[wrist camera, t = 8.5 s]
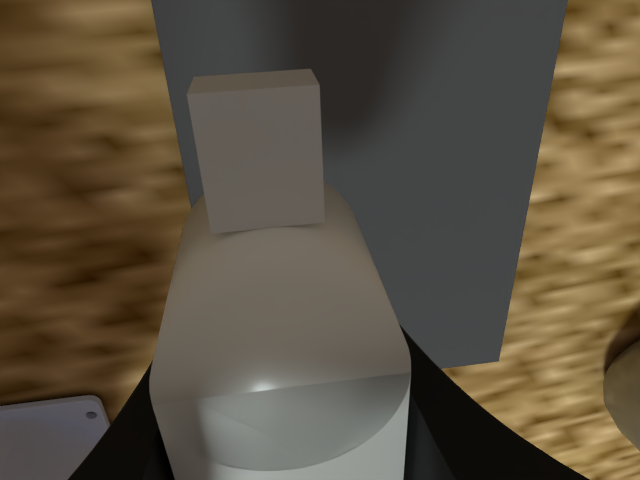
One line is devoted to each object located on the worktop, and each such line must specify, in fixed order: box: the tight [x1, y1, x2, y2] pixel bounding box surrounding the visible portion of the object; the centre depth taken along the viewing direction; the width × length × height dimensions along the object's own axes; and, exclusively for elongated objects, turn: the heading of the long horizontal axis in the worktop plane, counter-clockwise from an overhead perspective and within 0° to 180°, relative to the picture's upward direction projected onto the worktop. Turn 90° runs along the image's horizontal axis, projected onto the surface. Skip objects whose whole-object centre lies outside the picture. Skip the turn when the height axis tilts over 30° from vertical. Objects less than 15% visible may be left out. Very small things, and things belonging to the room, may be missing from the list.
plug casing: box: [149, 69, 411, 480], centre depth 11 cm, size 12×4×4 cm, turn 2°
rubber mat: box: [151, 0, 568, 369], centre depth 21 cm, size 18×14×1 cm
